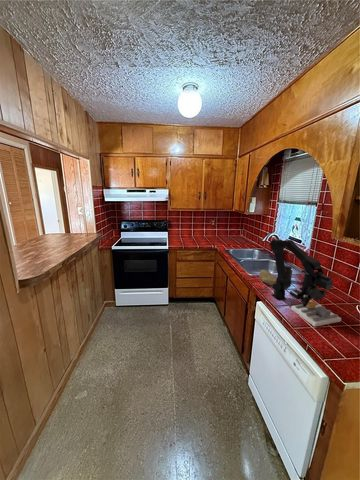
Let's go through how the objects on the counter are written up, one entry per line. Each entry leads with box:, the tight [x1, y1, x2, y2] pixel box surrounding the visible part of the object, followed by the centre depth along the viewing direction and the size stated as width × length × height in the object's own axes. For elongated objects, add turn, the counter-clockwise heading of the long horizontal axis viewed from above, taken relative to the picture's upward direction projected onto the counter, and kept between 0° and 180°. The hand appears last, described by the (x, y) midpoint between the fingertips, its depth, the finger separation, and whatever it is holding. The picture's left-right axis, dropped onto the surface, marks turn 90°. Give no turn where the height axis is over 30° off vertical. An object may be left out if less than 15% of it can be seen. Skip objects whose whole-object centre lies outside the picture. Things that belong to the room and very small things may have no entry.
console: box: [290, 301, 342, 328], centre depth 113 cm, size 16×18×3 cm
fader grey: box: [316, 305, 332, 317], centre depth 108 cm, size 5×4×4 cm
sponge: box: [258, 269, 277, 287], centre depth 152 cm, size 13×8×20 cm
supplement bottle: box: [285, 264, 293, 279], centre depth 154 cm, size 7×7×12 cm
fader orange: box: [306, 299, 316, 309], centre depth 116 cm, size 5×4×4 cm
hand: (304, 305), depth 115 cm, fingers closed
